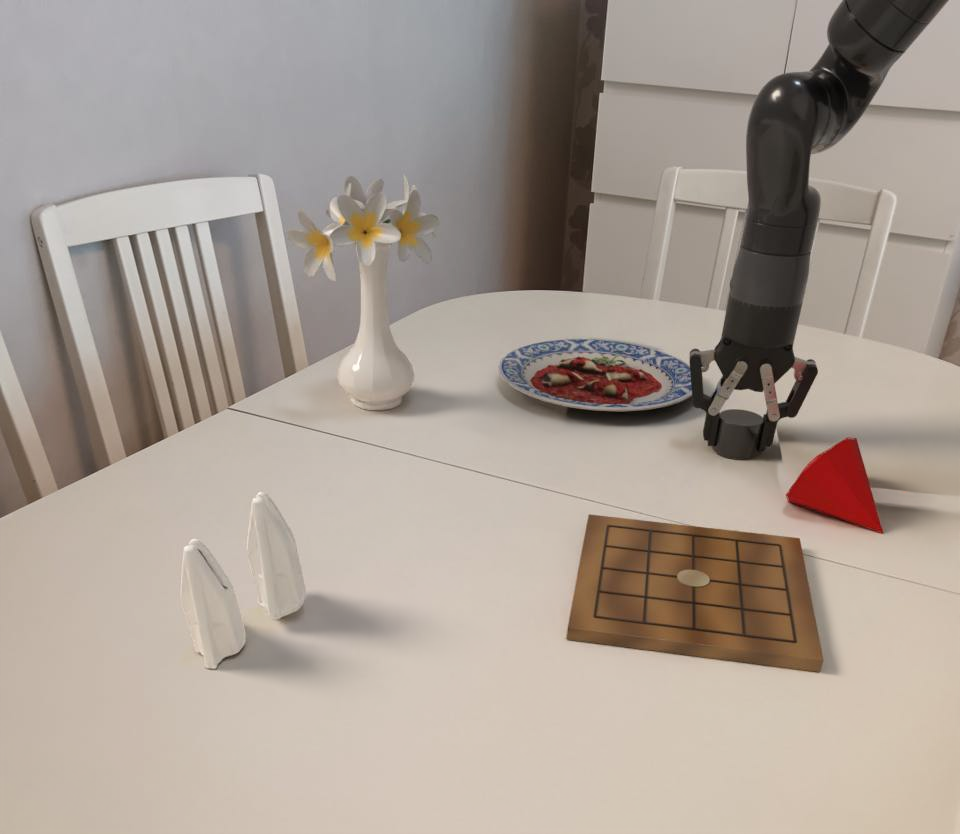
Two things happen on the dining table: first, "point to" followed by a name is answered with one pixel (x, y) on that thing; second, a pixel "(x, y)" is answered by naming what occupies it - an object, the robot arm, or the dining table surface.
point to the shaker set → (213, 593)
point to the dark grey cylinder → (738, 434)
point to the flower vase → (370, 281)
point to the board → (695, 593)
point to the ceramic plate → (597, 375)
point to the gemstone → (838, 486)
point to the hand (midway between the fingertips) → (736, 445)
